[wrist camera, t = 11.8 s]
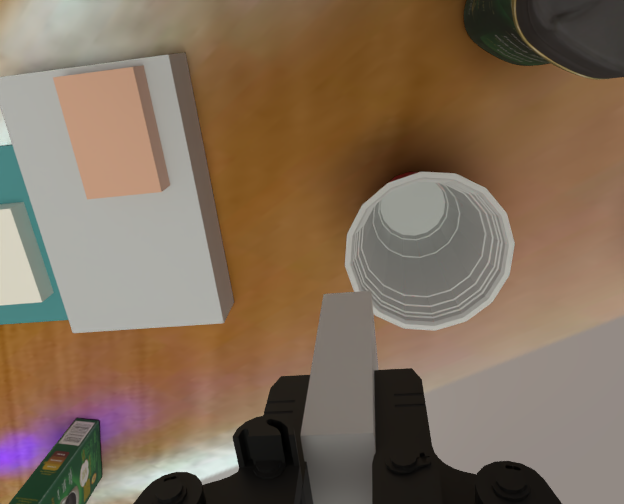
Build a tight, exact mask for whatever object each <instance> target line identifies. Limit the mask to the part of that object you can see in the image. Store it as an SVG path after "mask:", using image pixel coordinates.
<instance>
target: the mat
mask: <svg viewBox="0 0 624 504" xmlns="http://www.w3.org/2000/svg"><path fill="white" fill-rule="evenodd" d="M18 202H24V204H25V207H26V210H27V213H28V216H29V219H30V222H31V226H32V229H33V232H34V235H35V238H36V241H37V244H38V247H39V250H40V253H41V256H42V259H43V262H44V265H45V268H46V271H47V274H48V277H49V280H50V283H51V286H52V289H53V292H54V293H53V294H51V295H50V296H49V297H48V298H47V299H45V300H44V301H43V302H38V303H25V304H13V305H0V324H14V323H29V322H43V321H58V320H68V316H67V313H66V310H65V307H64V304H63V301H62V298H61V295H60V292H59V288H58V285H57V282H56V279H55V276H54V273H53V270H52V267H51V264H50V260H49V257H48V254H47V251H46V248H45V245H44V242H43V239H42V235H41V232H40V229H39V226H38V223H37V220H36V217H35V214H34V211H33V207H32V204H31V201H30V198H29V195H28V192H27V189H26V186H25V183H24V179H23V176H22V173H21V170H20V167H19V164H18V161H17V158H16V155H15V151H14V148H13V145H6V146H0V204H9V203H18Z"/></svg>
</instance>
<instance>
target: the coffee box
mask: <svg viewBox="0 0 624 504" xmlns="http://www.w3.org/2000/svg"><path fill="white" fill-rule="evenodd" d="M101 478H102V462H101V452H100V431H99V421H98V420H88V419H81V418H76V419H75V421H74V422H73V423H72V424H71V426H70V427H69V428H68V429H67V431H66V432H65V433H64V434H63V436H62V437H61V438H60V440H59V441H58V442H57V443H56V445H55V446H54V447H53V448H52V450H51V451H50V452H49V453H48V455H47V456H46V457H45V459H44V460H43V461H42V462H41V464H40V465H39V466H38V467H37V469H36V470H35V471H34V472H33V474H32V475H31V476H30V478H29V479H28V480H27V481H26V483H25V484H24V485H23V486H22V488H21V489H20V490H19V491H18V493H17V494H16V495H15V496H14V498H13V499H12V500H11V502H10V503H9V504H86V502H87V501H88V499H89V497H90V496H91V494H92V492H93V491H94V489H95V487H96V486H97V484H98V483H99V481H100V479H101Z"/></svg>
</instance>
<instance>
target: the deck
mask: <svg viewBox="0 0 624 504" xmlns="http://www.w3.org/2000/svg"><path fill="white" fill-rule="evenodd" d="M142 65H144V69H145V73H146V78H147V82H148V87H149V91H150V96H151V100H152V105H153V109H154V114H155V118H156V123H157V127H158V132H159V136H160V141H161V145H162V150H163V154H164V159H165V163H166V168H167V172H168V177H169V181H170V186H169V187H167V188H166V189H165V190H164V191H162V192H157V193H147V194H137V195H127V196H117V197H107V198H97V199H87V197H86V194H85V190H84V187H83V183H82V180H81V176H80V172H79V169H78V165H77V162H76V158H75V155H74V151H73V148H72V144H71V141H70V137H69V133H68V130H67V126H66V123H65V119H64V116H63V112H62V109H61V105H60V102H59V98H58V94H57V91H56V87H55V84H54V80H53V77H59V76H66V75H74V74H81V73H89V72H96V71H104V70H112V69H119V68H127V67H134V66H142ZM0 108H1V111H2V114H3V117H4V120H5V123H6V127H7V130H8V133H9V136H10V139H11V142H12V145H13V148H14V151H15V155H16V158H17V161H18V164H19V167H20V170H21V173H22V176H23V179H24V183H25V186H26V189H27V192H28V195H29V198H30V201H31V204H32V207H33V211H34V214H35V217H36V220H37V223H38V226H39V229H40V232H41V235H42V239H43V242H44V245H45V248H46V251H47V254H48V257H49V260H50V264H51V267H52V270H53V273H54V276H55V279H56V282H57V285H58V288H59V292H60V295H61V298H62V301H63V304H64V307H65V310H66V313H67V316H68V320H69V323H70V326H71V329H72V332H73V333H81V332H97V331H112V330H127V329H142V328H157V327H173V326H188V325H203V324H218V323H224V322H225V320H226V318H227V316H228V314H229V311H230V309H231V307H232V305H233V303H234V299H233V294H232V289H231V283H230V278H229V273H228V268H227V263H226V258H225V253H224V248H223V242H222V237H221V232H220V227H219V222H218V217H217V212H216V207H215V202H214V196H213V191H212V186H211V181H210V176H209V171H208V166H207V161H206V155H205V150H204V145H203V140H202V135H201V130H200V125H199V120H198V114H197V109H196V104H195V99H194V94H193V89H192V84H191V79H190V74H189V68H188V63H187V58H186V53H177V54H168V55H161V56H153V57H146V58H138V59H131V60H124V61H116V62H109V63H101V64H94V65H86V66H79V67H71V68H64V69H56V70H49V71H41V72H34V73H26V74H19V75H12V76H4V77H0Z"/></svg>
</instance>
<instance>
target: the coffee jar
mask: <svg viewBox="0 0 624 504" xmlns="http://www.w3.org/2000/svg"><path fill="white" fill-rule="evenodd" d="M464 24H465V28H466V31H467V33H468V35H469V36H470V38H471V39H472V40H473V41H474V42H475V43H476V44H477V45H478V46H480V47H481V48H482V49H484V50H485V51H487V52H489V53H490V54H492V55H494V56H496V57H498V58H499V59H502V60H504V61H506V62H509V63H512V64H516V65H523V66H533V65H543V64H548V63H552V64H553V65H555V66H557V67H559V68H561V69H563V70H566V71H568V72H570V73H573V74H576V75H579V76H582V77H585V78H589V79H610V78H618V77H624V0H467V1H466V4H465V9H464Z"/></svg>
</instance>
